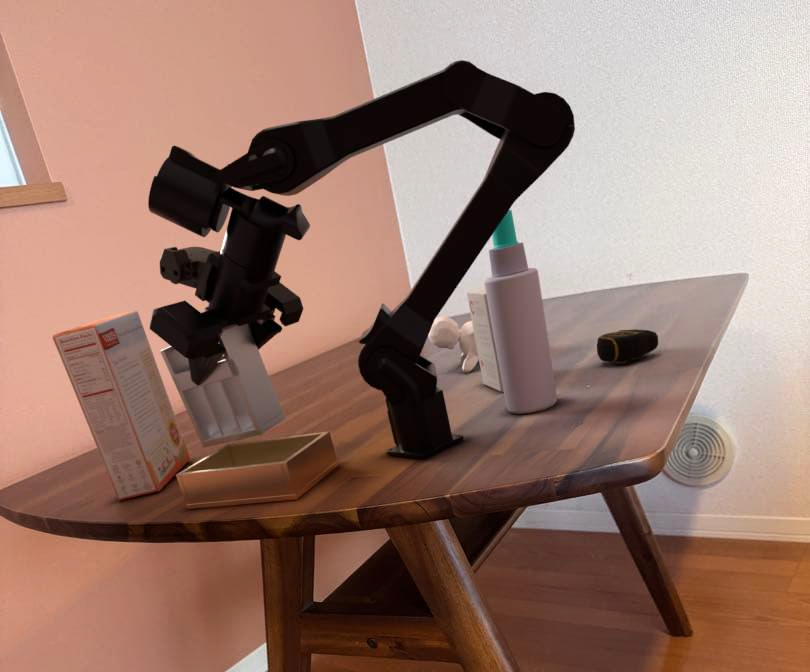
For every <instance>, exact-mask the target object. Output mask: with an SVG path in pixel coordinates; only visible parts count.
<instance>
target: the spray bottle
mask: <svg viewBox="0 0 810 672" xmlns="http://www.w3.org/2000/svg"><path fill="white" fill-rule="evenodd" d="M491 237H492V243H493V246H492V247H493V248H491V249H489V250H488V255H489V263H490V270H491V276H489V277H488V278H486V279H485V280H484V281H483V282H484V287H485V289H486V295H487V301H488V306H489V312H490V317H491V323H492V329H493V334H494V340H495V346H496V351H497V357H498V362H499V368H500V374H501V379H502V385H503V390H504V392H503V396H504V400H505V406H506V410H507V412H509V413H511V414H515V415H517V414H518V415H523V414H525V415H526V414H532V413H537V412H541V411H545V410H547V409H549V408H551V407H553V406H554V405H555V404H556V403H557V401H558V393H557V388H556V382H555V374H554V368H553V362H552V356H551V349H550V342H549V335H548V327H547V322H546V316H545V309H544V301H543V297H542V289H541V283H540V276H539V270H538V268H536V267H529V265H528V260H527V256H526V250H525V245H524V242H519V241H518V239H517V233H516V227H515V223H514V216H513V212H512V209H509V211H508V212H507V214H506V215H505V217H504V218H503V220H502V221H501V222H500V224H499V225H498V227H497V228H496V230H495V231H494V233H493V234H492V236H491Z"/></svg>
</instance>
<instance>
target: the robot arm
mask: <svg viewBox="0 0 810 672" xmlns="http://www.w3.org/2000/svg"><path fill="white" fill-rule="evenodd" d="M456 115H458V116H460V117H461V118H464V119H465V120H467V121H469V122H471V123H472V124H474V125H475V126H476V127H478V128H480V129H481V130H482V131H484V132H486V133H488V134H489V135H491V136H492V137H494V138H496V139H498V140H499V141H498V143H497V146H496V147H495V149H494V150H495V151H494V153H493V156H492V157H491V160H490V163H489V166H488V167H487V170H486V173H485V175H484V177H483V180H482V181H481V183H480V185H478V187H477V189H476V190H475V192H474V193H473V195H472V197H471V198H470V200H469V201H468V202H467V204H466V205H465V207H464V209H463V210H462V212H461V213H460V215H459V216H458V218H457V220H456V221H455V223H454V224H453V226H451V229H450V230H449V231H448V233H447V235H446V236H445V238H444V239H443V241H442V242H441V244H440V245H439V247H438V248H437V250H436V251H435V253H434V254H433V256H432V257H431V259H430V260H429V261H428V263H427V265H426V267H425V268H424V270H423V271H422V273H421V274H420V276H419V277H418V278H417V280H416V282H415V283H414V285H413V287H412V288H411V289H410V291H409V292H408V294H407V295H406V296H405V298H404V299H403V300H402V301H401V302H400V303H399V304H398V305H396V306H395V307H394V308H393V310H391V309H390V308H389V307H388V306H387V305H386V304H385V303H381V305H380V307H379V308H378V309H379V310H378V312H377V314H376V316H375V319H374V321H373V322H372V324H371V325H370V326H369V327H368V328H367V329H365V330H364V331H363V332H361V335H360V338H359V340H358V343H359V344H360V345H362V346H361V350H360V352H359V354H358V359H357V366H358V371H359V374H360V376H361V377H362V379H363V381H364V382H365V383H366V384H367V385H368V386H370V387H371V388H373V389H375V390H378V391H381V392H382V394H383V395H384V396H385V398H384V399H385V400H384V401H385V405H386V408H387V409H386V410H387V411H386V413H387V417H388V421H389V425H390V430H391V434H392V439H393V442H394V445H395V446H392V447H390V448H388V449H386V450H385V451H386V455H387V456H397V457H406V458H415V459H425V458H427V457H430V456H431V455H433V454H435V453H438V452H441V451H442V450H444V449H446V448H448V447H450V446H453V445H455V444H456V443H457V444H458V443H459V442H460V441H463V440H464V438H465V437H464V435H463V434H457V433H452V428H451V424H450V419H449V414H448V409H447V404H446V399H445V395H444V390H443V389H440V388H439V387H438V376H437V371H436V364H435V363H434V362H433V361H431V360H429V359H427V358H426V357H424V356H423V355H421V354H422V352H423V350H424V347H425V344H426V342H427V339H428V338H429V337H428V335H429V332H430V330H431V327H432V325H433V323H434V320H435V319H436V318H438V315H439V314H440V312H441V311H442V310H443V308H445V305H446V304H447V302H448V301H449V299H450V298H451V296H452V295H453V293H454V292H455V291H456V289H457V288H458V286H459V284H460V283H461V281H462V280H463V279H464V277H465V276H466V274H467V273H468V272H469V270H470V268H471V267H472V265H473V264H474V263H475V261H476V260H477V258H478V257H479V255H480V254H481V252H482V251H483V249H484V248H485V246H487V243H488V242H489V240H490V239H491V237H492V234H493V233H494V231H495V230H496V228H497V227H498V225H499V224H500V222H501V221H502V220H503V218H504V217H505V215H506V214H507V212H508V211H509V210H511V208H512V207H513V205H514V204H515V202H516V201H517V200H518V199H519V198H520V197H521V196H522V195H523V194H524V193H525V192H526V191H527V190H528V189H529V188H530V187H531V186H532V185H533V184H534V183H535V182H536V181H537V180H538V179H539V178H540V177H542V175H543V174H544V173H545V172H546V171H547V170H548V169H549V168H550V167H551V166H552V165H553V164H554V163H555V162H556V161H557V159H559V157H560V156H561V155H562V154H563V153H564V152H565V151H566V150H567V149H568V147H569V146H570V144H571V141H572V140H573V138H574V136H575V131H576V126H575V116H574V112H573V110H572V107H571V105H570V103H568V102H567V101H566V99H565V98H564V97H563V96H561V95H559V94H557V93H555V92H551V91H550V92H549V91H542V92H538V93H533V92H531V91H530V90H528V89H526V88H524V87H523V86H520V85H518V84H516V83H513V82H511V81H508V80H505V79H504V78H501V77H499V76H496V75H493V74H492V73H488V72H487V71H484V70H483V69H481V68H479V67H477V65H475V64H474V63H472V62H470V60H469V61H468V60H463V59H460V60H456V61H452V63H450V64H448V65H447V66H446V67H445V68H443V69H441V70H439V71H437V72H434V73H432V74H430V75H427V76H425V77H423V78H420V79H418V80H416V81H413V82H411V83H409V84H406V85H404V86H401V87H399V88H397V89H394V90H392V91H390V92H387V93H385V94H382V95H380V96H378V97H376V98H373V99H371V100H369V101H366V102H364V103H361V104H359V105H357V106H354V107H352V108H349V109H346V110H344V111H342V112H340V113H338V114H336V115H332V116H327V117H322V118H314V119H307V120H300V121H293V122H288V123H285V124H279V125H275V126H269V127H266V128H264V129H262V130H260V131H259V132H257V133H256V134H255V135H254V136H253V137H252V139H251V141H250V144H249V147H248V150H247V152H246V153H244V154H243V155H242V156H240V157H239V158H237V159H235V160H234V161H232V162H231V163H227V165H225V166H224V167H222V168H221V169H220V168H218V167H216V166H214V165H213V164H210V163H209V162H206V161H204V160H201V159H200V158H198V157H197V156H196V155H195V154H193V153H192V152H191V151H188V150H187V149H184V148H182V147H180V146H177V145H172V146H171V148H170V151H169V155H168V156H167V158H165V160H164V161H163V163H162V164H161V166H160V168H159V170H158V172H157V175H154V176H153V179H152V182H151V185H150V189H149V192H148V201H147V204H148V211H149V212H150V213H152V214H153V215H156V216H158V217H159V218H162V219H164V220H166V221H168V222H170V223H172V224H174V225H176V226H179V227H181V228H183V229H185V230H187V231H188V232H191V233H193V234H195V235H197V236H199V237H202V238H206V237H207V236H208V235H209V234H210V232H211V231H213V232H215V233H217V234H219V232H220V231H221V230H222V229H223V227H224V225H225V223H226V221H227V218H228V215H229V220H228V222H227V226H226V229H225V233H224V237H223V241H222V245H221V249H220V250H219V251H217V250H213V249H210V248H205V247H202V246H187V247H184V248H183V247H182V248H178V247H177V246H172V247H166V248H163V250H162V253H161V256H160V259H159V274H160V276H161V277H162V279H164V280H167V281H170V283H172V284H173V285H179V284H180V285H182V286H186V287H189V288H193V289H195V293H194V296H195V297H196V298H198V299H199V300H200V301H202V302H207V303H208V306H206V307H205V308H204V311H200V310H198V309H197V308H196V307H195V306H193V305H192V304H191V303H189V302H187V300H181V301H178V302H175V303H170V304H167V305H164V306H160V307H155V308H153V309H152V312H151V317H150V322H149V330H150V331H152V332H153V333H154V334H155V335H157V337H158V338H160V339H162V340H163V341H164V342H165V343H166V344H167V345H169V347H170V346H171V347H173V348H174V349H175V350H176V351H178V352H179V353H180V354H181V355H183V356H184V357H185V358H188V362H189V368H190V375H191V380H192V382H193V383H195V384H196V385H197V386H199V385H201V384H202V382H203V381H204V380H205V379H206V378H207V376H208V375H209V374H210V372H211V371H212V369H213V368H214V367H215V365H216V364H217V363H218V361H219V360H220V359H221V357H222V356H223V355H224V353H225V352H226V349H225V348H224V347H223V346H221V345H220V344H219V339H220V336H222V333H223V330H226V329H229V328H232V327H235V326H242V325H245V324H248V326H249V328H250V331H251V333H252V336H253V338H254V341H255V343H256V346H257V348H258V350H259V351H260V349H262V348H263V347H264V346H265V345H266V344H267V343H269V342H270V341H271V340H272V339H273V338H274V337H275V336H276V335H278V334H280V333H281V332H282V331H283V327H282V325H283V326H284V327H288V326H291V325H294V324H297V323H299V322H300V320H301V317H302V314H303V311H304V306H303V303H302V299H301V297H300V296H299V295H298V294H296V293H295V292H294V291H292V290H291V289H289V288H288V287H287V286H285V285H284V284H283V283H282V282H281V279H282V275H280V274H279V273H278V272H276V267H277V264H278V261H279V258H280V255H281V252H282V249H283V246H284V243H285V240H286V237H287V236H288V237H290V238H291V239H292V238H293V239H294V240H296V241H301V240H302V239H303V238H304V236H306V234H307V232H308V231H309V229H310V228H311V224H310V222H309V220H308V218H307V217H306V215H305V214H304V212H303V209H302V205H301V204H299V203H297V204H295V205H293V206H285V205H283V204H281V203H280V202H278V201H275V200H273V199H271V198H269V197H267V196H265V195H262V196H260V198H256V197H252V196H249V195H247V194H245V193H242V192H240V191H238V190H236V189H239V190H242V191H243V190H244V191H249V192H255V191H261V190H265V191H266V192H268V193H270V194H274V195H278V196H283V197H285V196H286V197H290V196H295V195H298V194H300V193H302V192H303V191H305V190H306V189H307V188H309V187H310V186H312V185H314V184H315V183H317V182H318V181H320V180H321V179H323V178H325V176H327V175H329V174H330V173H331V172H332V171H334V170H335V169H336V168H338V167H339V166H340V165H342V164H343V163H345V162H347V161H348V160H349V159H351V158H353V157H357V156H358V155H360V154H363V153H365V152H368V151H370V150H373V149H376V148H377V147H380V146H382V145H385V144H387V143H389V142H393V141H395V140H397V139H399V138H402V137H404V136H406V135H409V134H411V133H413V132H417V131H419V130H422V129H424V128H425V127H428V126H431V125H433V124H435V123H438V122H440V121H442V120H445V119H448V118H450V117H452V116H456ZM230 209H231V211H230ZM229 213H230V214H229ZM276 310H278V311H279V312H280V316H279V322H280V324H279V323H278V322H276V321H275V319H276V315H275V312H276Z"/></svg>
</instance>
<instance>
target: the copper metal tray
mask: <svg viewBox="0 0 810 672" xmlns="http://www.w3.org/2000/svg"><path fill="white" fill-rule="evenodd" d="M338 466H339V461H338V458H337V454H336V451H335V447H334V443H333V439H332V435H331V432H330V431H329V430H327V431H321V432H313V433H305V434H297V435H290V436H282V437H275V438H267V439H259V440H252V441H244V442H236V443H228V444H225V445H223V446H222V447H220V448H219V449H216V450H215V451H213V452H212V453H209V454H208V455H206V456H205V457H203V458H201V459H200V460H198V461H197V462H195V463H193V464H192V465H190V466H188V467H186V468H185V469H183V470H181V471H179V472H177V473H176V474H175V477H176V480H177V483H178V486H179V489H180V490H181V494H182V497H183V500H184V502H185V505H186V508H187V510H193V509H195V510H196V509H206V508H217V507H218V508H219V507H227V506H239V505H240V506H241V505H251V504H261V503H273V502H285V501H295V500H296V501H297V500H298V499H300V497H302V496H304V494H306V493H307V492H309V490H311V489H312V488H313V487H314V486H315V485H317V484H318V483H319V482H320V481H321V480H322V479H324V478H325V477H326V476H328V475H329V474H330V473H331V472H332V471H334V470H335V469H336V468H337V467H338Z"/></svg>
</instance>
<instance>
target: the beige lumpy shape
mask: <svg viewBox="0 0 810 672" xmlns="http://www.w3.org/2000/svg"><path fill="white" fill-rule="evenodd" d="M427 338H428V340H429V341H430V343H431V344H432V345H434V346H435V347H436V348H439V349H449V350H454V349H455V347H456V345H457V343H458V342H459V343H458V344H459V349H460V351H461V356H460V360H459V364H460V365H462V367H461V369H462V371H463V372H464V373H467V374H469V373H470V372H472V370H473V369H474V368H475V367H476V365H477V363H478V362H479V357H478V351H477V346H476V341H475V335H474V330H473V324H472V320H469V321H467V322H465V323H464V324H463V325H462V326H461V328H459V323H457V321H456V320H454V319H452V318H451V317H450V316H449V317H448V316H445V315H444V316H439V317H438V316H437V317H436V318H435V320H434V323H433V325H432V327H431V330H430V332H429V335H428V337H427Z"/></svg>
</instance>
